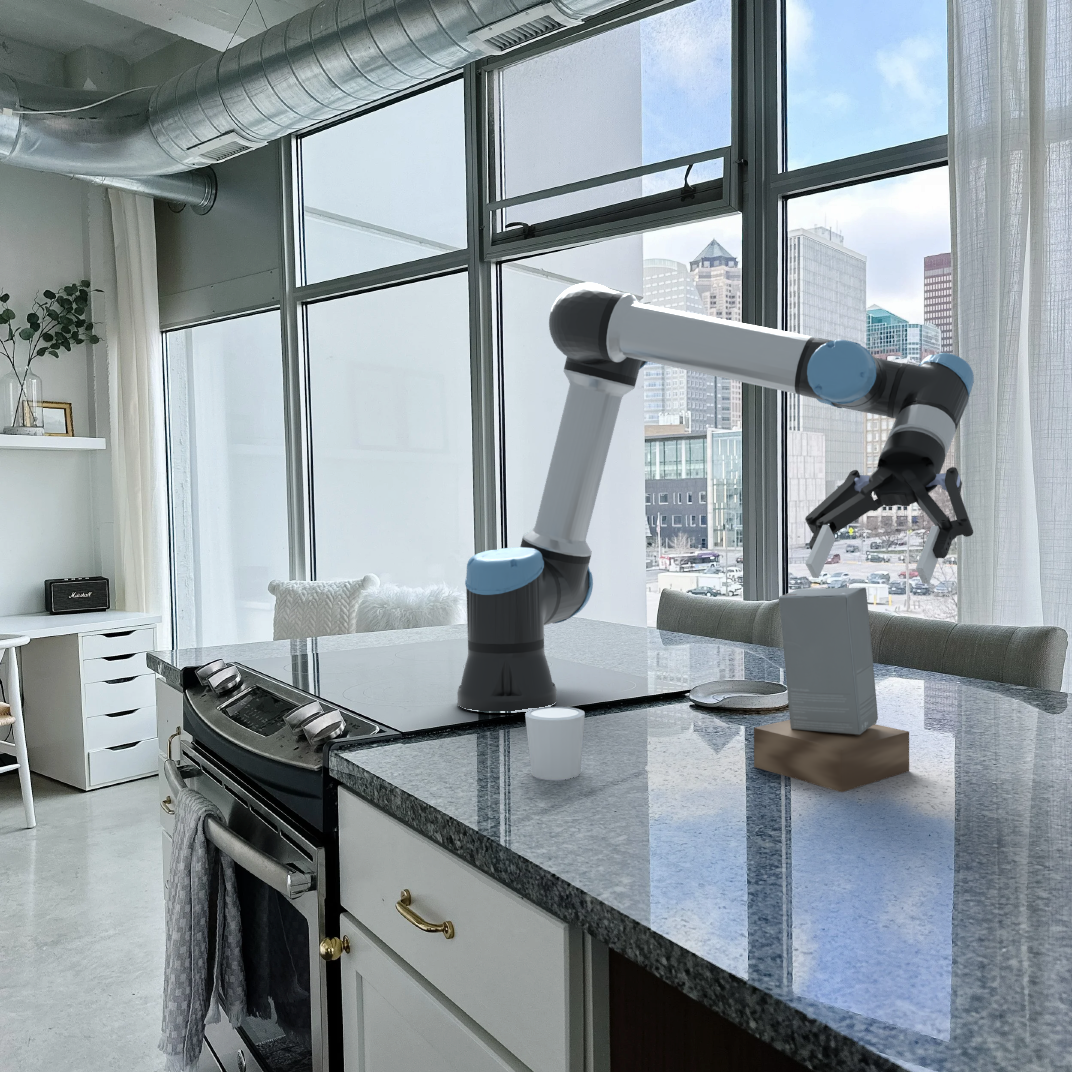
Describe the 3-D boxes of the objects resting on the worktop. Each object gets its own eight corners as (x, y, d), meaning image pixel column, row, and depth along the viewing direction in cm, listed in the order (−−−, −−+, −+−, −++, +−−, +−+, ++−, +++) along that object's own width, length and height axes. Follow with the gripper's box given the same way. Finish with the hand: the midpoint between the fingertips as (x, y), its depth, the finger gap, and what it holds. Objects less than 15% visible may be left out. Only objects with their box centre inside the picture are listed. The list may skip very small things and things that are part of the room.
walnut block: (754, 770, 110) (753, 727, 109) (821, 753, 116) (820, 712, 116) (841, 796, 100) (841, 749, 100) (909, 775, 107) (909, 731, 106)
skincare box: (879, 724, 108) (873, 586, 108) (857, 739, 103) (851, 593, 102) (807, 717, 114) (801, 584, 113) (782, 730, 108) (777, 591, 107)
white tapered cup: (581, 783, 105) (580, 720, 104) (520, 780, 106) (518, 718, 106) (590, 765, 111) (589, 706, 111) (532, 763, 113) (531, 704, 112)
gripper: (1026, 466, 116) (982, 600, 106) (834, 472, 134) (781, 587, 123) (1012, 421, 112) (965, 555, 102) (816, 433, 129) (759, 549, 119)
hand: (864, 573), depth 113 cm, fingers open, 13 cm apart
